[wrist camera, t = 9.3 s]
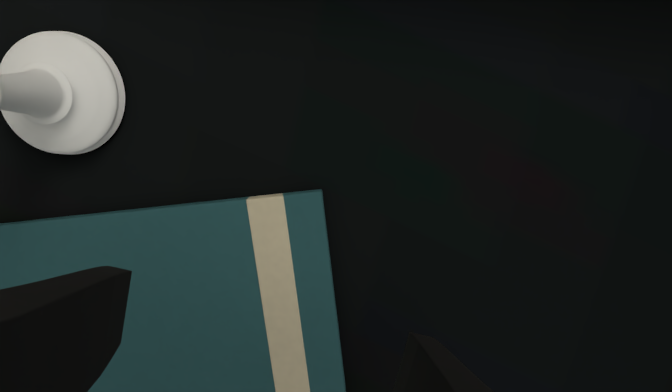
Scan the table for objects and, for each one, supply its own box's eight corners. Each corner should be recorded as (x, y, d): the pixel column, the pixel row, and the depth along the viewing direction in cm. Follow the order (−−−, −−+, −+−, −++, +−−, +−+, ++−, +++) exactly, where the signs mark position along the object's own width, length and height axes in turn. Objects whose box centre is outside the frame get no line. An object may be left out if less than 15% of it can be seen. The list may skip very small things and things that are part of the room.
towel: (353, 450, 24) (353, 459, 23) (-49, 487, 25) (-58, 496, 24) (322, 188, 21) (321, 191, 21) (-131, 237, 22) (-143, 241, 21)
